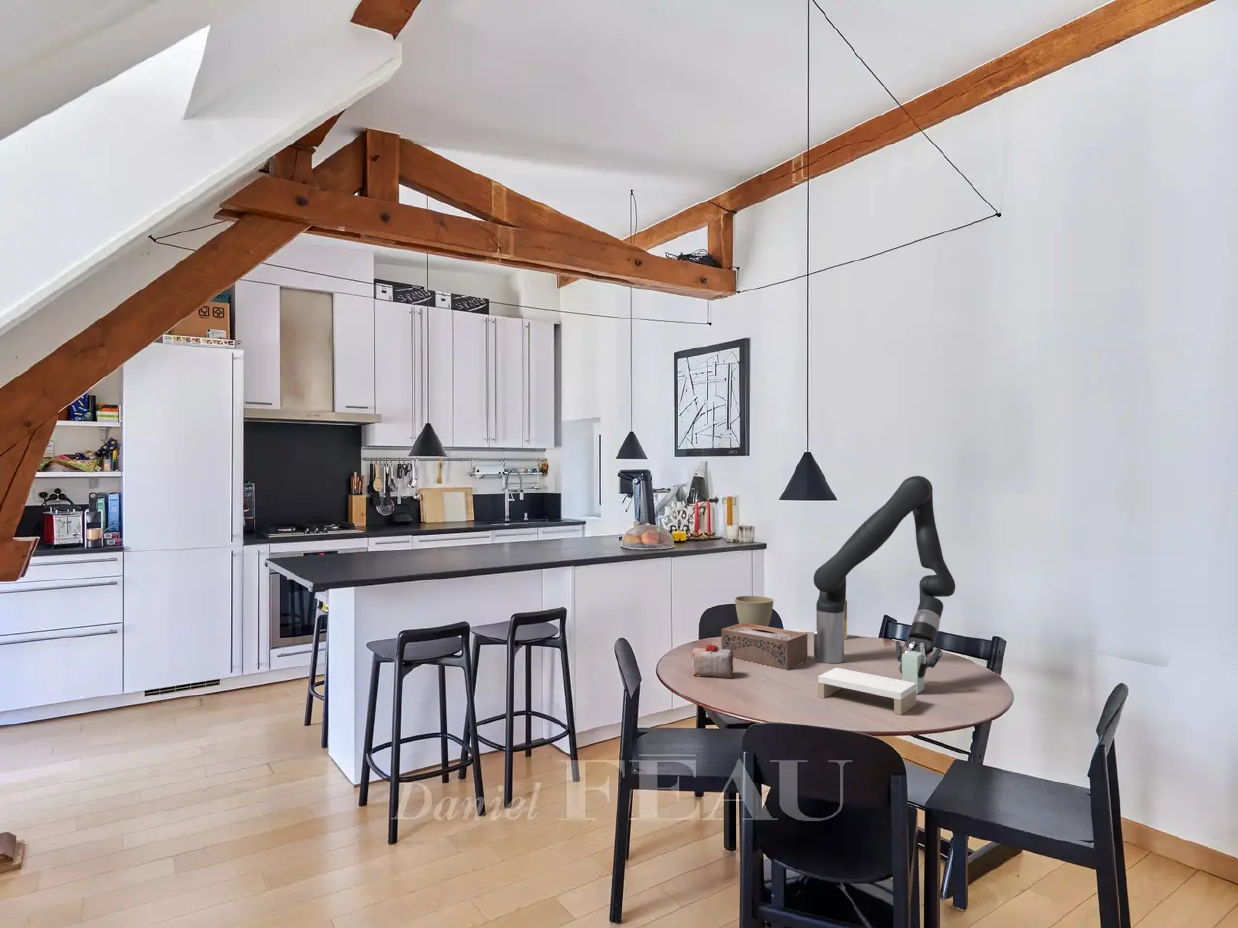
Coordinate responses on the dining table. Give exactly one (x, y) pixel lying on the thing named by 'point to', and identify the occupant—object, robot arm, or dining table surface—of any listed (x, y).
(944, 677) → the dining table surface
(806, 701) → the dining table surface
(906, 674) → the pale green rectangular block
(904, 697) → the shelf
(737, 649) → the tissue box cover
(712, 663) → the food item
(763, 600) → the plant pot
